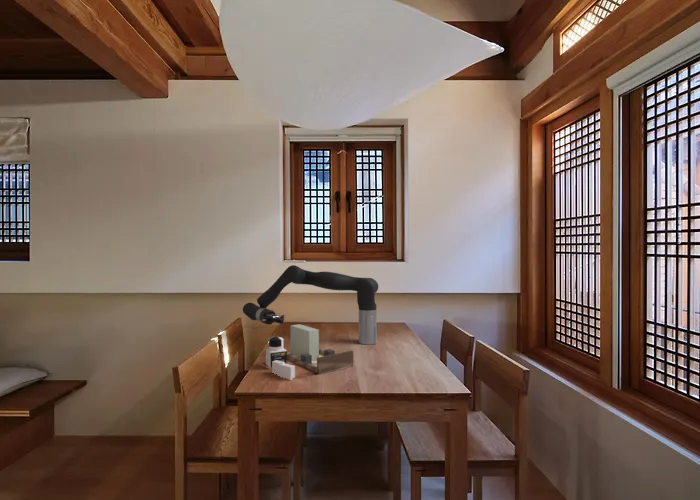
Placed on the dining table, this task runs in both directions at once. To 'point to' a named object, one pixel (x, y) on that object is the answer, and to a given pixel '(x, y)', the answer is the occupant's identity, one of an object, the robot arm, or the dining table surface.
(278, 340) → the medicine bottle
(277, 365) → the white rectangular block
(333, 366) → the tray
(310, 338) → the block
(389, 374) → the dining table surface
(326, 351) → the trap posts
